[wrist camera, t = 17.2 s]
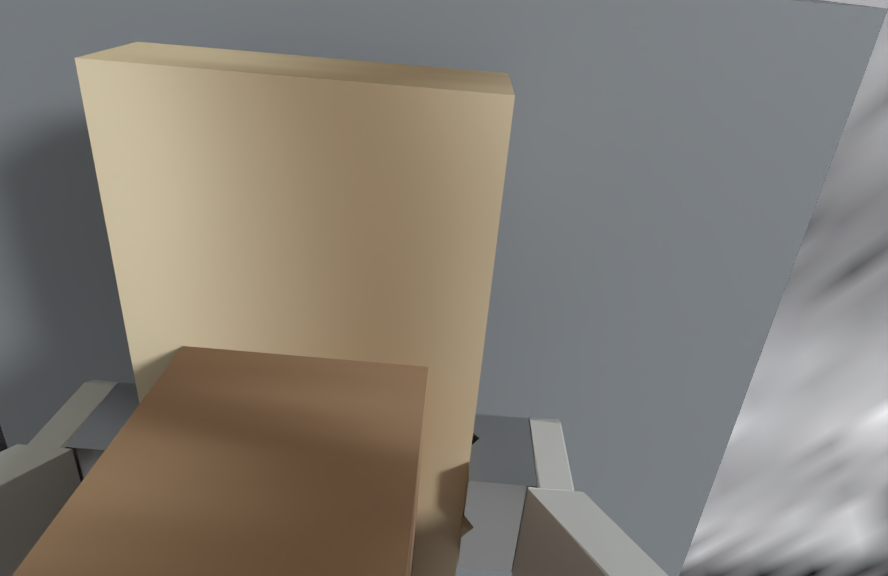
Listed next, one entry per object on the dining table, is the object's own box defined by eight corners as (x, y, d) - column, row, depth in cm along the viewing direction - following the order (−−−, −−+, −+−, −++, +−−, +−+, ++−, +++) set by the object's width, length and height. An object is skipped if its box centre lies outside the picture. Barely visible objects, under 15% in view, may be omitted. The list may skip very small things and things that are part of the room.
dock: (109, 444, 20) (29, 552, 16) (-6, -72, 13) (-182, -83, 10) (632, 490, 20) (667, 606, 16) (776, -6, 13) (888, 9, 10)
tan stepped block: (246, 577, 15) (197, 713, 12) (189, 28, 9) (75, 57, 7) (442, 594, 15) (436, 734, 12) (502, 55, 9) (515, 94, 7)
